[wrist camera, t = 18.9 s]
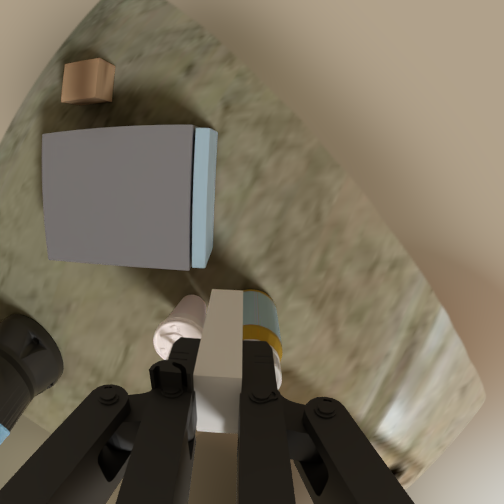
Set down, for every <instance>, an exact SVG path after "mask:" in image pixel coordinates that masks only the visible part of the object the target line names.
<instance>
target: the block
mask: <svg viewBox="0 0 504 504" xmlns="http://www.w3.org/2000/svg"><path fill="white" fill-rule="evenodd" d="M114 75H115V66H114V65H112V64H110V63H108V62H106V61H105V60H103V59H101V58H95V59H89V60H83V61H78V62H73V63H68V64H65V69H64V77H63V86H62V96H61V102H64V103H69V104H74V105H88V104H97V103H107V102H112V96H113V85H114Z"/></svg>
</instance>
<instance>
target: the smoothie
mask: <svg viewBox="0 0 504 504" xmlns="http://www.w3.org/2000/svg"><path fill="white" fill-rule="evenodd" d="M205 318H206V304H205V302H204V300H203V299H202V298H200V297H199V296H197V295H187V296H185V297H183V298H182V300H181V301H180V302H179V303H178V305H177V306H176V307H175V309H174V310H173V311H172V312H171V314H170V315H169V316H168V318H167V319H166V320H164V321H162V322H161V323H160V324H159V325H158V327H157V328H156V331H155V333H154V337H153V344H154V347H155V350H156V351H157V353H158V354H159V355H160V357H161V358H163V359H164V360H168V357H169V354H170V353H171V348H172V346H173V343H174V342H175V341H177V340H178V339H179V338H180V337H186V338H199V339H201V336H202V332H203V327H204V323H205Z"/></svg>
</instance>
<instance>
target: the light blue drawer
mask: <svg viewBox="0 0 504 504" xmlns="http://www.w3.org/2000/svg"><path fill="white" fill-rule="evenodd" d="M217 137H218V132H216V131H215V130H213V129H211V128H196V134H195V140H194V145H193V167H192V180H193V203H192V206H191V243H192V268H205V267H206V265H207V262H208V259H209V257H210V254H211V251H212V249H213V227H214V199H215V176H216V155H217Z"/></svg>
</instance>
